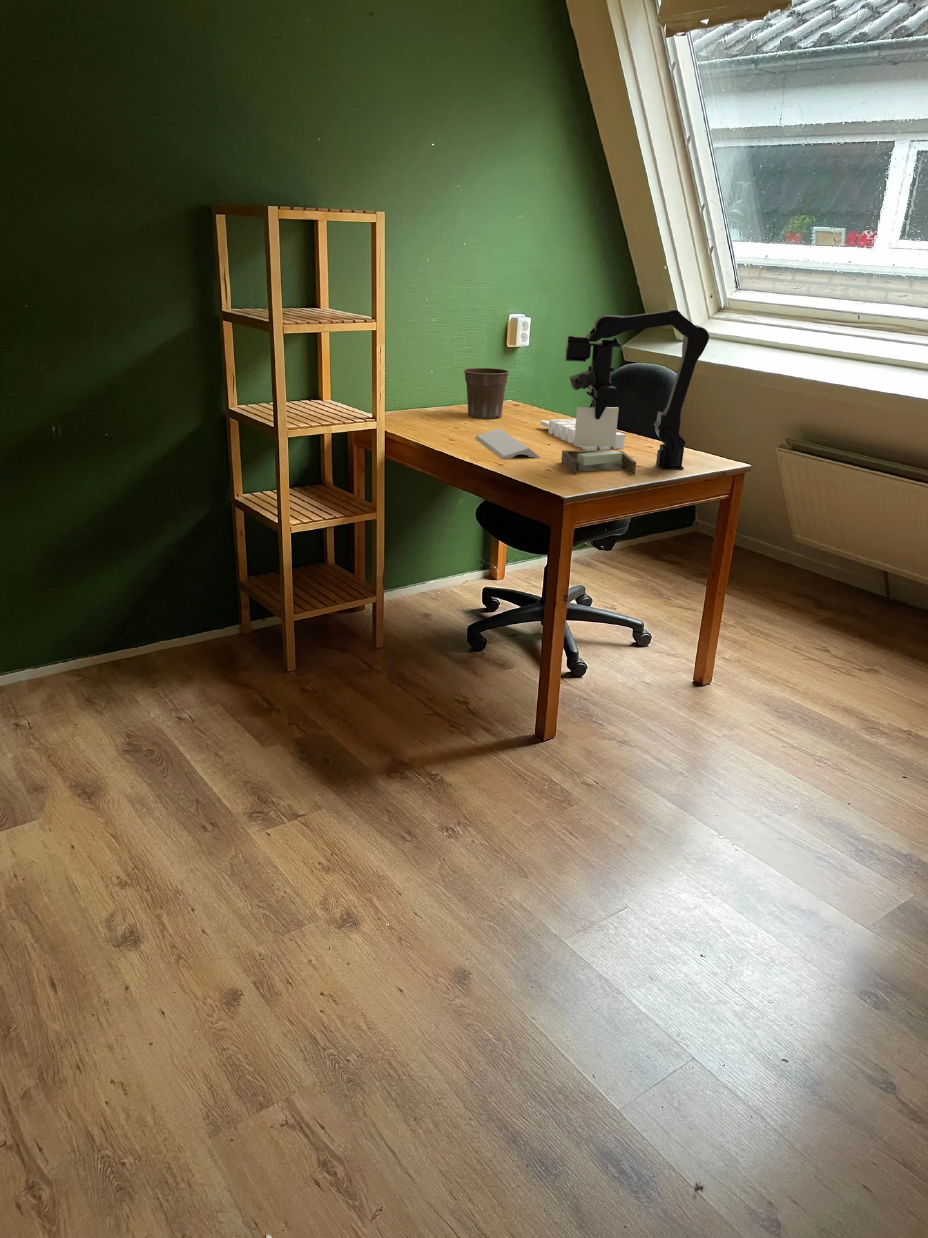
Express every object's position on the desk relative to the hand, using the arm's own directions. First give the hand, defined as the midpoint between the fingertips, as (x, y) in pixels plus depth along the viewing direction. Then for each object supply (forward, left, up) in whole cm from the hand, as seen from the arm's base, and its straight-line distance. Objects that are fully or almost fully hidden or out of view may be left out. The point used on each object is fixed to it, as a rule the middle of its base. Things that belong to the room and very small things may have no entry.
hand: (596, 418), depth 258 cm
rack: (0, +5, -13) cm, 14 cm away
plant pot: (+22, -73, -13) cm, 77 cm away
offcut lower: (0, +6, -14) cm, 15 cm away
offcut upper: (0, +6, -11) cm, 13 cm away
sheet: (0, 0, -8) cm, 8 cm away
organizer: (-4, -36, -14) cm, 39 cm away
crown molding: (+22, -21, -14) cm, 33 cm away
